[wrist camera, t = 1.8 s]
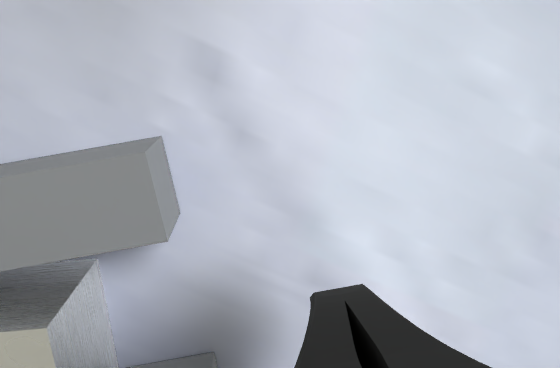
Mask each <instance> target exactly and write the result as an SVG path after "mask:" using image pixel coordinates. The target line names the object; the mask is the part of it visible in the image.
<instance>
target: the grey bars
mask: <svg viewBox="0 0 560 368" xmlns="http://www.w3.org/2000/svg"><path fill="white" fill-rule="evenodd" d="M179 215H180V210H179V206H178V202H177V198H176V193H175V189H174V185H173V181H172V177H171V173H170V169H169V165H168V160H167V156H166V152H165V148H164V144H163V140H162V136H159V137H153V138H148V139H142V140H136V141H130V142H125V143H119V144H113V145H108V146H102V147H96V148H90V149H85V150H79V151H73V152H68V153H62V154H56V155H51V156H45V157H39V158H33V159H28V160H22V161H16V162H11V163H5V164H0V271H5V270H11V269H16V268H22V267H28V266H33V265H39V264H45V263H50V262H56V261H61V260H67V259H73V258H78V257H84V256H89V255H95V254H101V253H106V252H112V251H118V250H123V249H129V248H134V247H140V246H146V245H151V244H157V243H162V242H168V240H169V238H170V235H171V233H172V231H173V228H174V226H175V224H176V222H177V219H178V217H179ZM128 368H218V367H217V363H216V359H215V355H214V352H210V353H205V354H199V355H194V356H188V357H183V358H177V359H172V360H166V361H161V362H155V363H150V364H144V365H139V366H133V367H128Z"/></svg>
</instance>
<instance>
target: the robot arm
mask: <svg viewBox="0 0 560 368" xmlns="http://www.w3.org/2000/svg"><path fill="white" fill-rule="evenodd" d="M310 301H311V309H310V316H309V322H308V326H307V330H306V334H305V338H304V342H303V345H302V348H301V351H300V354H299V356H298V359H297V362H296V365H295V367H294V368H491V367H489V366H487V365H485V364H483V363H480V362H478V361H476V360H474V359H472V358H470V357H468V356H466V355H464V354H462V353H460V352H459V351H457V350H455V349H453V348H451V347H449V346H447V345H446V344H444V343H442V342H440V341H439V340H437V339H435V338H434V337H432V336H431V335H429V334H428V333H426V332H424V331H423V330H421V329H420V328H418V327H417V326H415V325H414V324H413V323H411V322H410V321H409V320H407V319H406V318H404V317H403V316H402V315H400V314H399V313H398V312H396V311H395V310H394V309H393V308H391V307H390V306H389V305H388V304H386V303H385V302H384V301H383V300H381V299H380V298H379V297H378V296H377V295H375V294H374V293H373V292H372V291H371V290H370V289H368V288H367V287H366V286H364V285H363V284H360V285H354V286H349V287H343V288H337V289H332V290H326V291H321V292H315V293H313V294H312V296H311V297H310Z"/></svg>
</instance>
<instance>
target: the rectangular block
mask: <svg viewBox="0 0 560 368" xmlns="http://www.w3.org/2000/svg"><path fill="white" fill-rule="evenodd" d="M0 368H119V366H118V361H117V356H116V351H115V346H114V340H113V335H112V330H111V325H110V320H109V314H108V309H107V304H106V299H105V294H104V289H103V283H102V278H101V273H100V268H99V263H98V258H95V259H84V260H72V261H60V262H50V263H45V264H39V265H33V266H28V267H22V268H16V269H11V270H5V271H0Z"/></svg>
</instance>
